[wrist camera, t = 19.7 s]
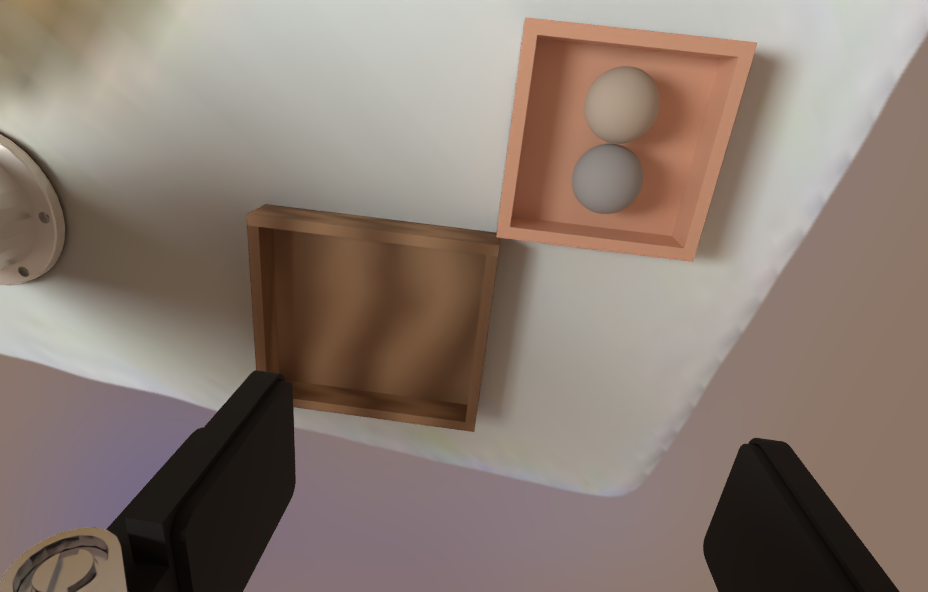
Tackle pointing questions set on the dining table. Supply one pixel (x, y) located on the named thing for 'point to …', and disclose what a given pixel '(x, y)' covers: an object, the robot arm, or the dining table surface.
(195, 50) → the dining table surface
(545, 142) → the terracotta dish
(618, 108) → the beige ball
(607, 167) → the grey ball
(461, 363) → the walnut tray
